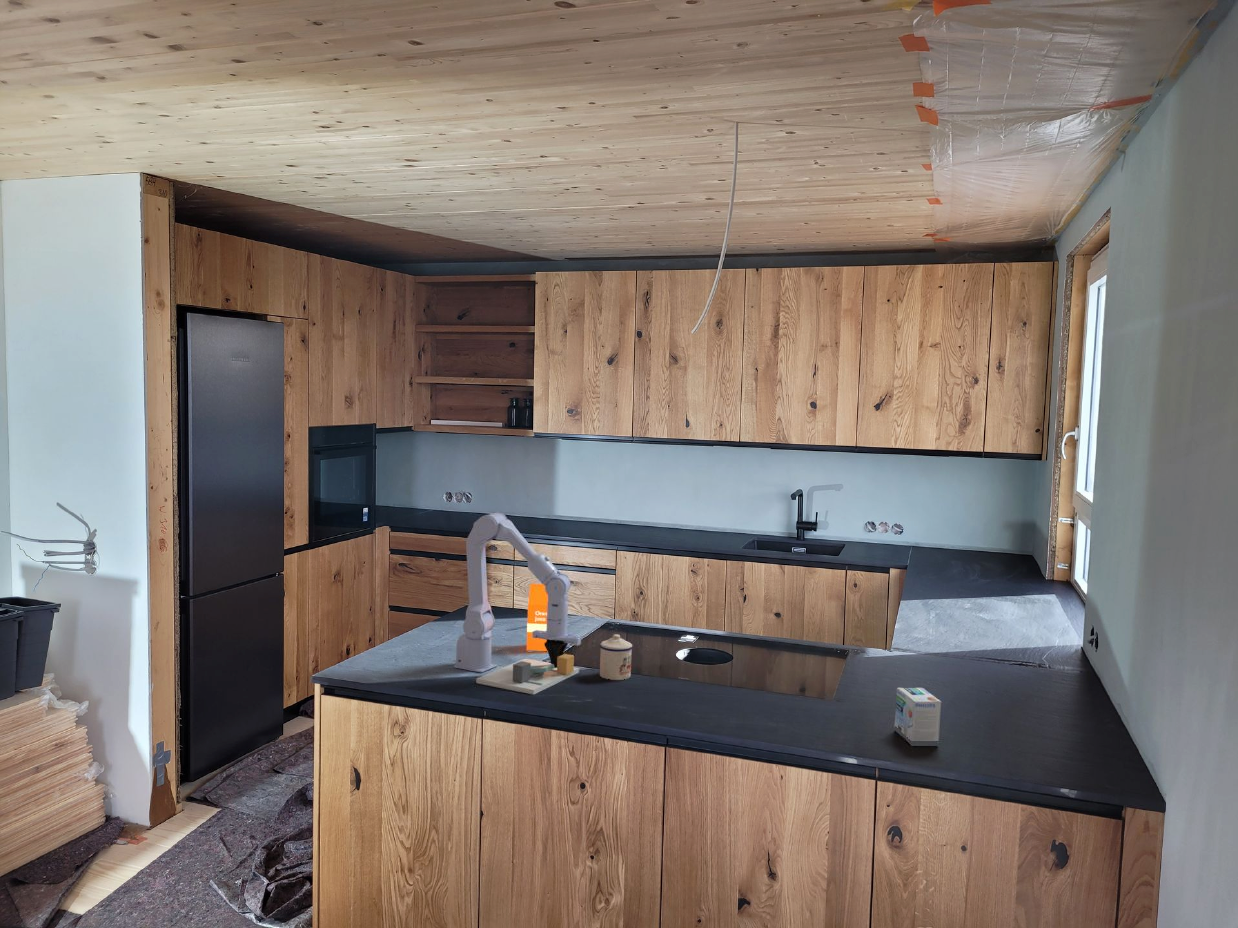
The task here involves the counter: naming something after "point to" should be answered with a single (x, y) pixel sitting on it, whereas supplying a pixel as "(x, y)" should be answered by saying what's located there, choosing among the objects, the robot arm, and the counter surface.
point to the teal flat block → (541, 668)
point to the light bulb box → (917, 714)
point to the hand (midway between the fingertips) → (555, 666)
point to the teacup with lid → (615, 658)
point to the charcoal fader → (521, 671)
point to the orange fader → (565, 664)
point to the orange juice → (537, 616)
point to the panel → (531, 686)
